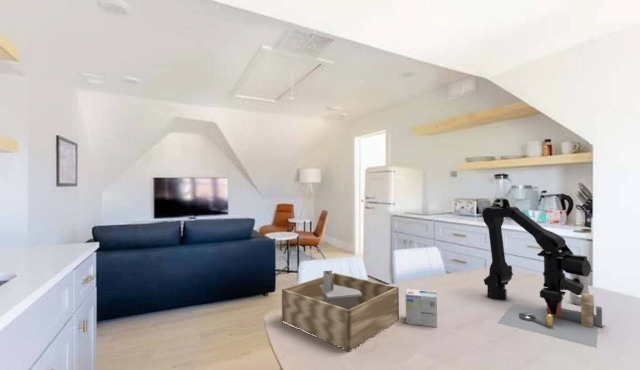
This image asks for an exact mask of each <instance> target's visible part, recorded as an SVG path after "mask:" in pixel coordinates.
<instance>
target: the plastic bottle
mask: <svg viewBox="0 0 640 370" xmlns="http://www.w3.org/2000/svg"><path fill="white" fill-rule="evenodd" d="M577 255H578V256H582V255H579V254H577ZM569 277H570V278H569V279H571V280H572V279H574V278H575V277H576V278H578V279H580V282H581V284H583V285H584V289H583V291H582V293H584V294H590V291H589V290H590V289H589V277H590V275H589V276H587V277H585V276H580V275H575V274H570V273H569ZM569 292H570V293H569V296H568V297H569V301H570V303H571V304H573V305H576V306H580V307H581V297H582V293H581V295H580V296H578V295H576V294H575V293H573V292H571V291H569Z"/></svg>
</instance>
